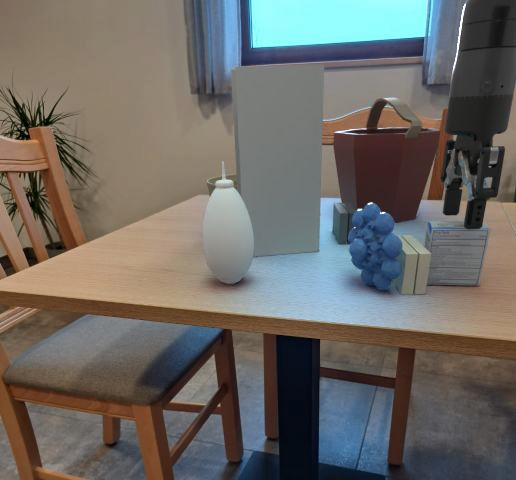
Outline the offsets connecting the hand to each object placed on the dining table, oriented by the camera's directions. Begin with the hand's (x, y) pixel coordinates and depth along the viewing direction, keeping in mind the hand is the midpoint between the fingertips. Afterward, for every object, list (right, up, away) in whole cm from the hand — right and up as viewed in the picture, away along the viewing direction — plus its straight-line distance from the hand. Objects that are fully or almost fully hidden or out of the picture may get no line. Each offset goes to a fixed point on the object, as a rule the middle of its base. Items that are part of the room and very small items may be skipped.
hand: (460, 221), depth 66 cm
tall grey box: (-25, 0, +22) cm, 33 cm away
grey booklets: (-11, +4, +29) cm, 31 cm away
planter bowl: (-32, +8, +37) cm, 50 cm away
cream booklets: (-7, -8, +5) cm, 12 cm away
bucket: (0, +13, +45) cm, 47 cm away
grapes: (-13, -9, +4) cm, 16 cm away
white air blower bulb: (-33, -8, +7) cm, 35 cm away
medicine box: (0, -8, +4) cm, 9 cm away
